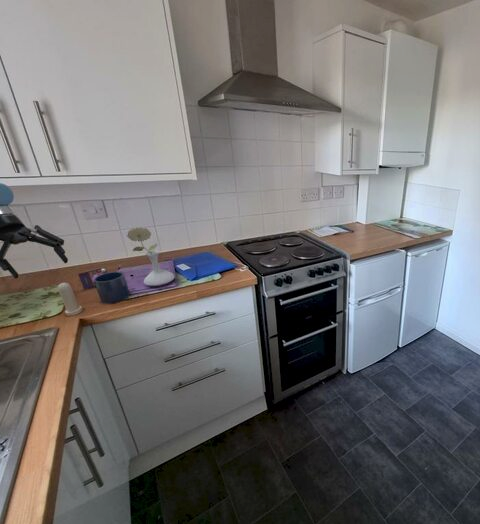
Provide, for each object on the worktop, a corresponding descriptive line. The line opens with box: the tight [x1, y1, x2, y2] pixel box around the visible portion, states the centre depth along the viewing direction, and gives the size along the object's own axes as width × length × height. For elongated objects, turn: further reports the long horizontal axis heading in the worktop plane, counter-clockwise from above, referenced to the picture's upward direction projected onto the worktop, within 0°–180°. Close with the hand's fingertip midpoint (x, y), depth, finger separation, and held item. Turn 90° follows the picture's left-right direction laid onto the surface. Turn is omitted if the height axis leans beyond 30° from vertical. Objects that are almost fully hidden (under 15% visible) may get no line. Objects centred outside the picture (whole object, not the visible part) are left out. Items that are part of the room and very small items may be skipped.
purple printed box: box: [77, 267, 108, 290], centre depth 126 cm, size 7×5×9 cm
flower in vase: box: [126, 226, 175, 287], centre depth 124 cm, size 13×11×25 cm
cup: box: [93, 271, 131, 304], centre depth 115 cm, size 9×9×9 cm
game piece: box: [57, 282, 83, 317], centre depth 105 cm, size 5×5×12 cm
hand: (43, 268), depth 105 cm, fingers open, 13 cm apart
